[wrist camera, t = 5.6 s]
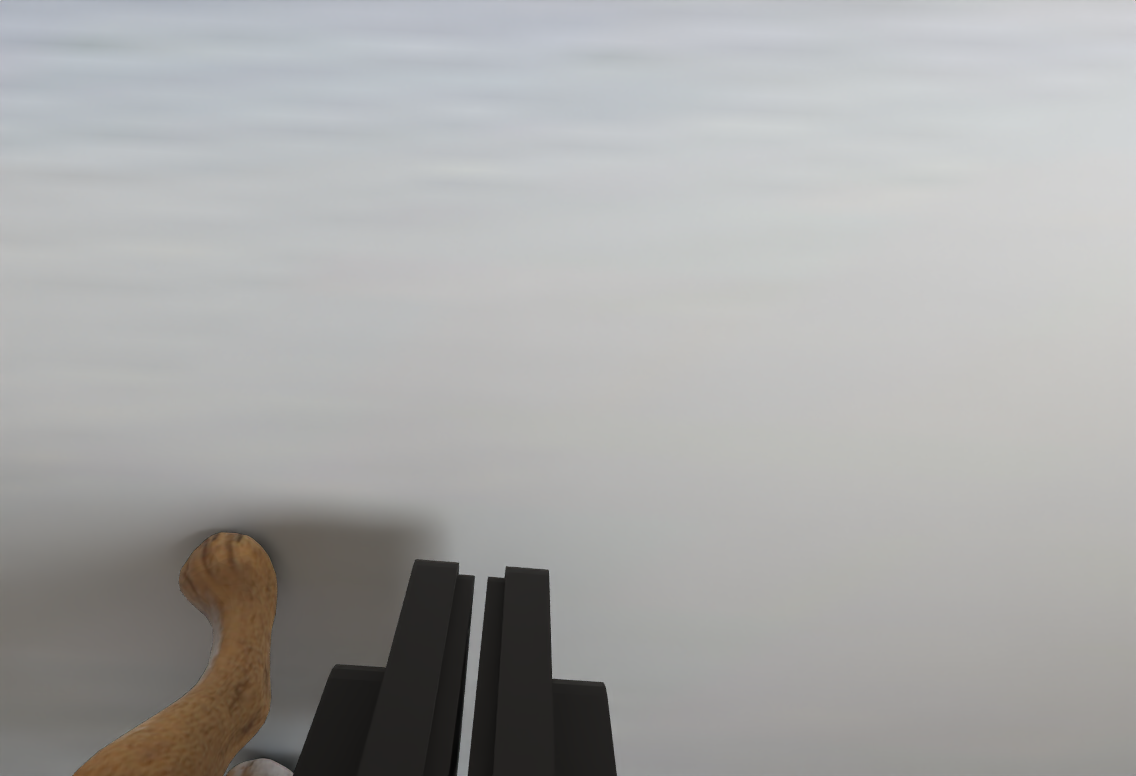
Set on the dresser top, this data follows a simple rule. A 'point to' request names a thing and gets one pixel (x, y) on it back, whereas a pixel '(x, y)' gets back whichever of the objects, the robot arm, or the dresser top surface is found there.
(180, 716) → the lion figurine
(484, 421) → the dresser top surface
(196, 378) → the dresser top surface
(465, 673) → the robot arm
